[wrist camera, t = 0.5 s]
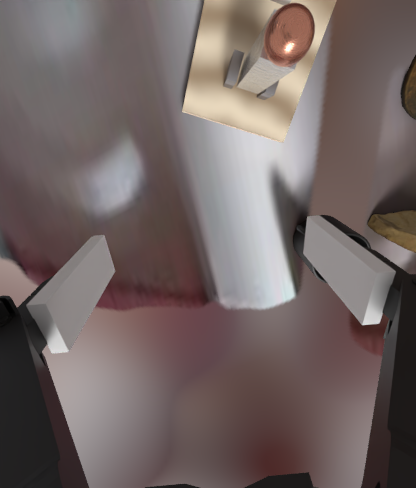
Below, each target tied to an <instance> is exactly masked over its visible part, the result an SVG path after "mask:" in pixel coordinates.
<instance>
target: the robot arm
mask: <svg viewBox="0 0 416 488" xmlns="http://www.w3.org/2000/svg"><path fill="white" fill-rule="evenodd" d="M303 254H304V255H305V257H306V258H307V259H308V260H309V261H310V263H311V264H312V265H313V266H314V267H315V269H316V270H317V271H318V272H319V273H320V275H321V276H322V277H323V278H324V279H325V281H326V282H327V283H328V284H329V285H330V287H331V288H332V289H333V290H334V291H335V293H336V294H337V295H338V296H339V297H340V299H341V300H342V301H343V302H344V304H345V305H346V306H347V307H348V308H349V310H350V311H351V312H352V313H353V314H354V316H355V317H356V318H357V319H358V320H359V322H360V323H361V324H362V325H368V324H379V323H380V320H381V317H382V314H383V313H384V314H385V315H386V316H387V317H388V318H389V322H388V325H387V328H386V331H385V334H384V337H383V338H384V339H385V343H384V350H383V356H382V363H381V369H380V375H379V381H378V388H377V394H376V400H375V407H374V413H373V419H372V426H371V432H370V438H369V445H368V451H367V458H366V463H365V470H364V476H363V481H362V486H361V488H416V274H409V273H407V272H406V271H404V270H403V269H401V268H400V267H398V266H397V265H396V264H394V263H393V262H390V260H388V259H387V258H386V257H384V256H383V255H381V254H380V253H378V252H377V251H375V250H372V249H370V248H367V247H362V246H361V245H359V244H358V243H356V242H355V241H354V240H352V239H351V238H350V237H348V236H347V235H346V234H344V233H343V232H341V231H340V230H339V229H337V228H336V227H335V226H333V225H332V224H330V223H329V222H328V221H326V220H325V219H324V218H322V217H321V216H320V215H315V216H307V223H306V232H305V241H304V250H303ZM114 272H115V269H114V266H113V262H112V259H111V256H110V252H109V249H108V246H107V242H106V239H105V236H104V235H98V236H92V237H91V238H90V239H89V240H88V241H87V242H86V243H85V244H84V245H83V246H82V247H81V248H80V250H79V251H78V252H77V253H76V254H75V255H74V256H73V257H72V258H71V259H70V260H69V261H68V262H67V263H66V264H65V265H64V266H63V267H62V268H61V269H60V270H59V271H58V273H57V274H56V275H55V276H52V277H50V278H49V279H47V280H46V281H44V282H43V283H42V284H41V285H40V286H39V287H38V288H37V289H36V290H35V291H34V292H33V293H32V294H31V296H29V297H28V298H27V299H26V300H25V301H24V302H23V303H22V304H21V305H20V306H19V307H18V308H17V307H16V306H15V304H14V302H13V300H12V299H11V297H10V296H0V488H89V486H88V483H87V480H86V477H85V474H84V471H83V468H82V465H81V462H80V459H79V456H78V453H77V450H76V448H75V444H74V442H73V439H72V436H71V433H70V430H69V427H68V424H67V421H66V418H65V415H64V412H63V409H62V406H61V403H60V401H59V397H58V395H57V392H56V389H55V386H54V383H53V380H52V377H51V374H50V371H49V368H48V366H47V362H46V359H45V357H44V355H43V353H42V350H43V349H44V348H45V346H46V345H48V347H49V349H50V350H51V352H52V353H63V352H69V351H70V349H71V348H72V346H73V344H74V342H75V341H76V339H77V337H78V335H79V333H80V332H81V330H82V328H83V327H84V325H85V323H86V321H87V320H88V318H89V316H90V314H91V313H92V311H93V309H94V307H95V306H96V304H97V302H98V300H99V299H100V297H101V295H102V293H103V292H104V290H105V288H106V286H107V284H108V283H109V281H110V279H111V277H112V276H113V274H114ZM145 488H199V487H195V486H191V485H188V484H177V485H166V486H156V487H145ZM245 488H317V487H313V485H312V481H311V478H310V475H309V473H299V474H287V475H276V476H268V477H266V478H264V479H262V480H260V481H257V482H255V483H254V484H251V485H249V486H247V487H245Z"/></svg>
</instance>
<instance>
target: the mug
mask: <svg viewBox="0 0 416 488" xmlns="http://www.w3.org/2000/svg"><path fill="white" fill-rule="evenodd" d="M320 216H321V217H322V218H324V219H325V220H326V221H328V222H329V223H330V224H332V225H333V226H335V227H336V228H337V229H339V230H340V231H341V232H343V233H344V234H346V235H347V236H348V237H350V238H351V239H352V240H354V241H355V242H356V243H358V244H359V245H361V246H362V247H367V248H370V249H371V247H370V244H369V242H368V241H367V240H366V239H365V238H364V237H363V236H361V235H360V234H358V233H357V232H355V231H353V230H352V229H351V228H349V227H348V226H346V225H344V224H343V223H341V222H340V221H338V220H337V219H335V218H333V217H331V216H327V215H320ZM306 223H307V220H306V221H304V222H303V223H302V224H301V225H297V226H296V227H297V230H296V232H295V235H294V239H293V244H294V249H295V251H296V252H297V254H298V255H299V256H300V257H301V259H302V260H303V261H304V262H305V264H306V265H307V266H308V267H309V269H310V270H311V271H312V273H313V274H314V275H315V276H316V277H317V278H318V279H319V280H320V281H322V282H325V283H327V282H326V281H325V279H324V278H323V277H322V276H321V275H320V273H319V272H318V271H317V270H316V269H315V267H314V266H313V265H312V264H311V263H310V261H309V260H308V259H307V258H306V257H305V255H304V254H303V250H304V241H305V232H306Z"/></svg>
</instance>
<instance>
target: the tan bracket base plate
mask: <svg viewBox="0 0 416 488" xmlns="http://www.w3.org/2000/svg"><path fill="white" fill-rule="evenodd" d="M336 1H337V0H204V5H203V10H202V15H201V20H200V25H199V30H198V35H197V40H196V45H195V50H194V55H193V60H192V65H191V70H190V75H189V80H188V85H187V90H186V95H185V100H184V105H183V110H182V111H183V112H185V113H188V114H191V115H194V116H197V117H201V118H204V119H207V120H210V121H214V122H217V123H220V124H223V125H226V126H230V127H233V128H236V129H239V130H242V131H246V132H249V133H252V134H255V135H259V136H262V137H265V138H268V139H271V140H275V141H278V142H284V139H285V137H286V134H287V131H288V129H289V126H290V123H291V121H292V118H293V115H294V113H295V110H296V107H297V105H298V102H299V99H300V97H301V94H302V91H303V89H304V86H305V83H306V81H307V78H308V75H309V73H310V70H311V67H312V65H313V62H314V59H315V57H316V54H317V51H318V49H319V46H320V43H321V41H322V38H323V35H324V33H325V30H326V27H327V25H328V22H329V19H330V17H331V14H332V11H333V9H334V6H335V3H336ZM289 3H300V4H303V5H305V6H306V7H307V8H308V9H309V10H310V12H311V13H312V15H313V18H314V23H315V34H314V39H313V42H312V45H311V47H310V49H309V50H308V52H307V54H306V55H305V56H304V57H303V58H302V59H301V60H300V61H299V62H297V65H296V68H295V70H293V71H292V72H290V73H289V74H287V75H286V76H284V77H283V78H281V79H280V80H278V81H277V82H275V83H274V84H272V85H271V86H269V87H268V88H266V89H265V90H263V91H262V92H260V93H259V94H256V93H253V92H250V91H247V90H244V89H241V88H238V87H237V83H238V80H239V76H240V72H241V69H242V65H243V61H244V59H245V57H246V56H247V54H248V52H249V51H250V49H251V47H252V46H253V44H254V42H255V41H256V39H257V37H258V36H259V34H260V32H261V31H262V29H263V27H264V26H265V24H266V22H267V21H268V19H269V17H270V16H271V14H272V12H273V11H274V9H276V10H278V9H279V8H281V7H282V6H284V5H286V4H289Z"/></svg>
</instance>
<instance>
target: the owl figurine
mask: <svg viewBox="0 0 416 488" xmlns="http://www.w3.org/2000/svg"><path fill="white" fill-rule="evenodd" d="M401 95H402V96H401V98H402V104H403V105H402V107H404V109H405V111H406V112H407V113H408V114H409V116H411V117H412V118H414V119H415V120H416V55H415V57H414V59H413V60H412V63H411V65H410V67H409V69H408V71H407V74H406V77H405V80H404V83H403V87H402V92H401Z"/></svg>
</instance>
